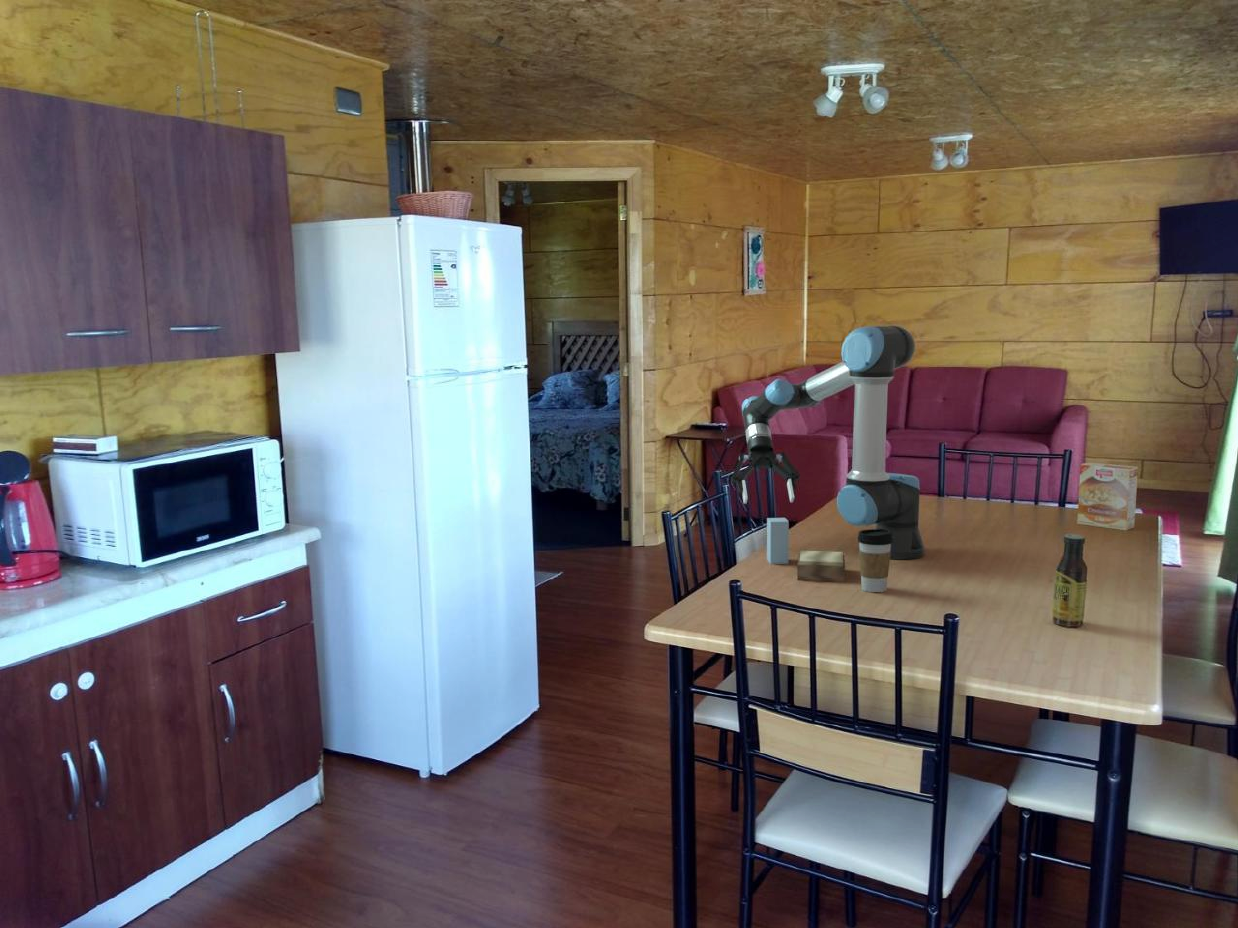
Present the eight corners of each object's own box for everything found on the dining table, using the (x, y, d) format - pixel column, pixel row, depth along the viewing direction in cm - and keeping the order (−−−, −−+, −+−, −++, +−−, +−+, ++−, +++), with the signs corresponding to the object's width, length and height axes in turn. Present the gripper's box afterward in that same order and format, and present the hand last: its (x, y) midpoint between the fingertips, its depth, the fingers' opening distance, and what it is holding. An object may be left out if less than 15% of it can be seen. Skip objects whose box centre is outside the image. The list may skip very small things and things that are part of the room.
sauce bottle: (1046, 620, 207) (1050, 532, 204) (1073, 618, 207) (1078, 531, 204) (1062, 629, 200) (1067, 539, 197) (1090, 628, 201) (1095, 538, 198)
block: (784, 559, 264) (784, 517, 262) (788, 563, 259) (788, 521, 257) (766, 559, 264) (767, 518, 262) (770, 564, 259) (770, 521, 257)
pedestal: (843, 569, 252) (844, 551, 251) (844, 581, 240) (845, 562, 239) (798, 567, 254) (798, 550, 253) (797, 579, 243) (797, 561, 242)
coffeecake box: (1076, 524, 300) (1079, 464, 297) (1085, 520, 304) (1088, 461, 301) (1126, 531, 289) (1130, 468, 286) (1134, 527, 293) (1138, 466, 290)
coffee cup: (893, 594, 228) (894, 535, 225) (857, 593, 229) (858, 534, 227) (890, 585, 236) (891, 527, 234) (855, 584, 238) (856, 526, 235)
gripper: (798, 448, 286) (809, 506, 273) (717, 450, 285) (724, 508, 272) (802, 433, 280) (814, 492, 267) (719, 435, 279) (727, 494, 266)
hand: (769, 500), depth 270 cm, fingers open, 13 cm apart
